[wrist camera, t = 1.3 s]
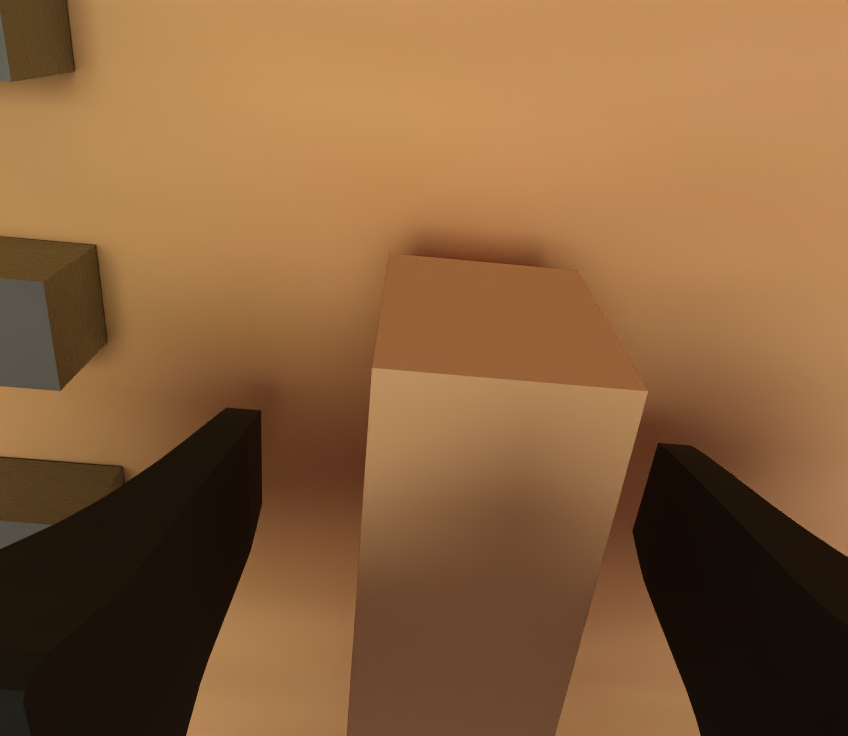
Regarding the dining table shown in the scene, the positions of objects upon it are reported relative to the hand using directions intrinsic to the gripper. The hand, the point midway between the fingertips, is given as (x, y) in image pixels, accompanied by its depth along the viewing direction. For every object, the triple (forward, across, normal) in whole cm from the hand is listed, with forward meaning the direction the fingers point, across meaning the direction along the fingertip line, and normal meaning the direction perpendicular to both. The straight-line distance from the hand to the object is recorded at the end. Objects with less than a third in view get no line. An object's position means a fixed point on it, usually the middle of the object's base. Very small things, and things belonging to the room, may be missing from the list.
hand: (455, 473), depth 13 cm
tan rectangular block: (+2, 0, 0) cm, 2 cm away
